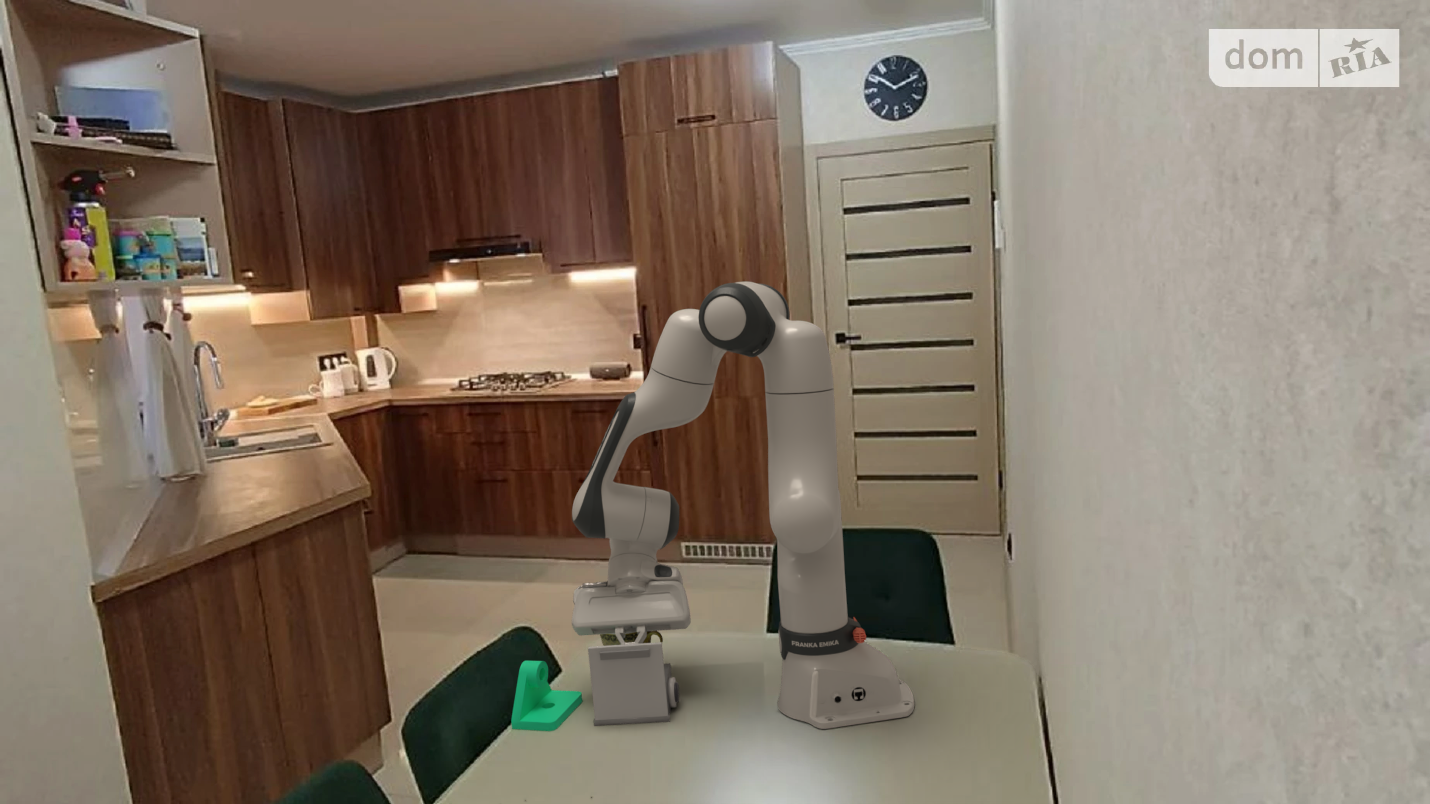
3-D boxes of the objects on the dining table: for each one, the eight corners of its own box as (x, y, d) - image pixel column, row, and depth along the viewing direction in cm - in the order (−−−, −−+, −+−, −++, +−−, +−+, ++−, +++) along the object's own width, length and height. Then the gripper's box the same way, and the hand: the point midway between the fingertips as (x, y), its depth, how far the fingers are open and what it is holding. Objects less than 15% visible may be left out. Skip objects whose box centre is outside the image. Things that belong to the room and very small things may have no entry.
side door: (670, 720, 151) (663, 641, 149) (669, 724, 149) (662, 645, 148) (595, 724, 152) (587, 646, 150) (593, 728, 150) (585, 650, 148)
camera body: (681, 701, 159) (678, 662, 158) (677, 722, 151) (674, 682, 150) (605, 706, 160) (601, 667, 159) (597, 727, 152) (593, 687, 151)
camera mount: (555, 738, 150) (548, 677, 149) (512, 735, 152) (506, 676, 151) (585, 705, 161) (579, 649, 160) (545, 703, 163) (539, 648, 162)
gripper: (570, 575, 160) (564, 650, 152) (687, 567, 159) (688, 643, 151) (578, 592, 165) (572, 666, 157) (691, 584, 164) (692, 658, 155)
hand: (630, 654), depth 154 cm, fingers closed
